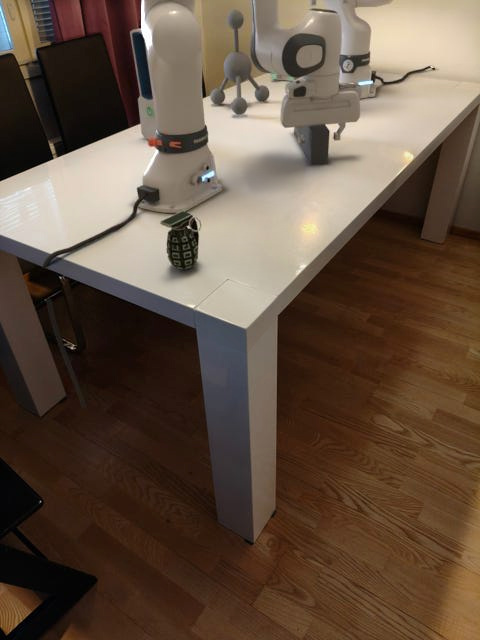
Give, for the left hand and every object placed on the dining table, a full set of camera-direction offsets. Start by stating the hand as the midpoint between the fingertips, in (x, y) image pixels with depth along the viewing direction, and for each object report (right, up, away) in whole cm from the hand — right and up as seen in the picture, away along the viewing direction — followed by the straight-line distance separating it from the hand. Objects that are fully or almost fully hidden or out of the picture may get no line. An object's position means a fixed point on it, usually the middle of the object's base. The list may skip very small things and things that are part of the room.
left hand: (319, 141), depth 129 cm
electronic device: (-45, +10, +24) cm, 52 cm away
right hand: (+5, +44, +12) cm, 46 cm away
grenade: (-31, -37, -38) cm, 62 cm away
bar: (-1, +2, +11) cm, 11 cm away
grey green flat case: (+4, +59, +83) cm, 102 cm away
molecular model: (-19, +31, +49) cm, 61 cm away
